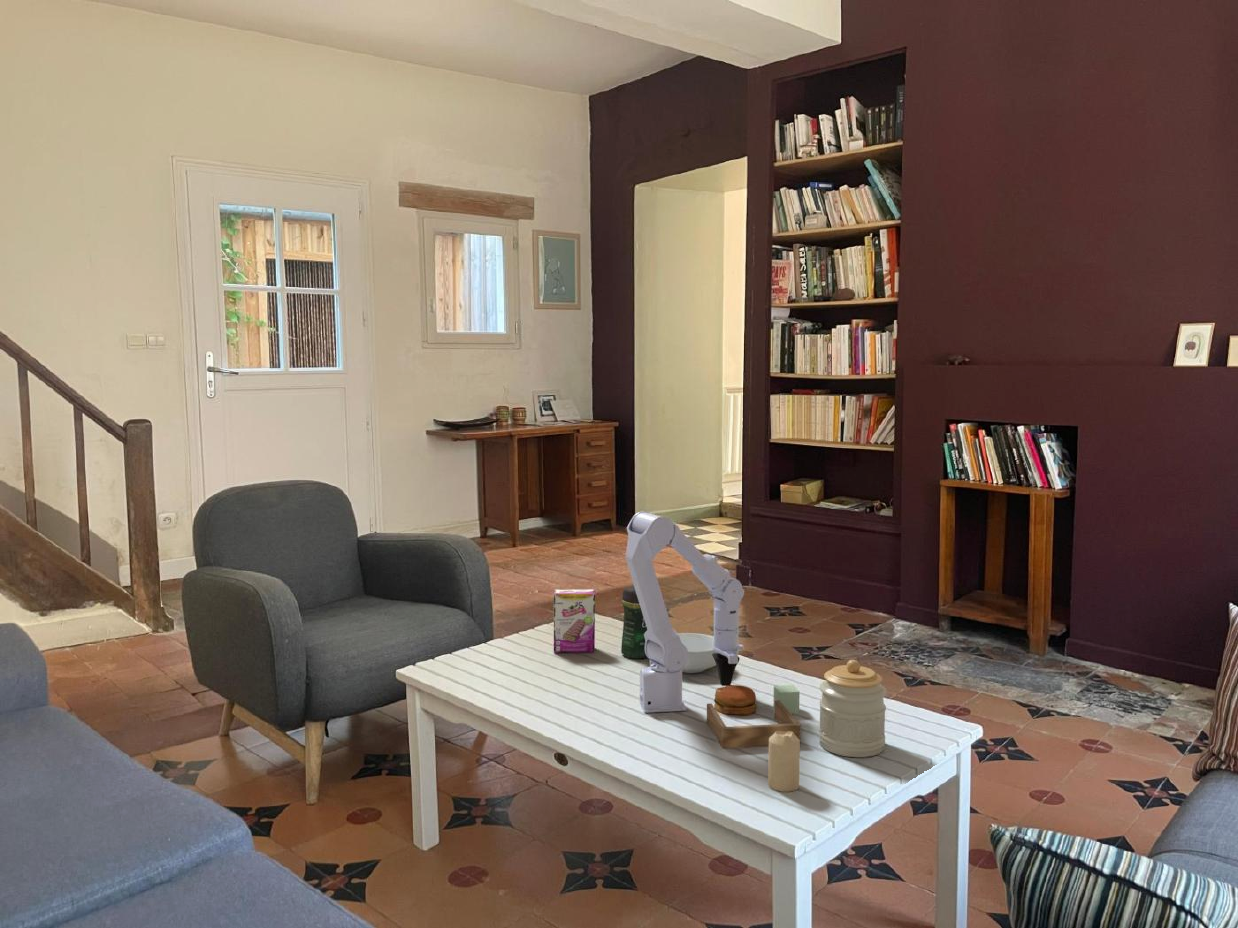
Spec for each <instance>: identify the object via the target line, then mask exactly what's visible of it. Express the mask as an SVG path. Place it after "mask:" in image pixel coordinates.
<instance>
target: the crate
mask: <svg viewBox="0 0 1238 928" xmlns="http://www.w3.org/2000/svg"><path fill="white" fill-rule="evenodd" d="M774 720H775V721H776V722H777V723H778V724H775V723H773V724H758V725H757V724H756V725H740V726H739V725H737V726H727V725H726V724H725V722H724V721H723V719H722V717H721V716H720V714H719V712H718V711H716V710H715V708H714V705H713V704H712V703H706V723H707V725H708V726H709V728H710V730H711V731H712V733H713V735H714V737H715V738H716V740H717V742H718V744H719V746H720V747H721V749H735V748H736V749H737V748H752V747H753V748H756V747H769V738H770V737H771V736H772V735H773V734H774V733H775V732H776V731H777V732H778V731H782V732H788V731H791V732H793V733H794V734H795V736H796V737H797V738H798V739H799V740H800V741H801V727H802V726H801V724H800V723H799V721H797V719H796V717H794V715H793V714H791V713H790V712H789V711H788V710H787V709H786V707H785V706H784V705H783V704H782V703H781V702H780V700H775V709H774Z"/></svg>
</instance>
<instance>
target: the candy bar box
mask: <svg viewBox="0 0 1238 928" xmlns="http://www.w3.org/2000/svg"><path fill="white" fill-rule="evenodd" d="M595 618H596V590H595V589H591V588H589V589H554V591H553V653H554V654H563V653H565V654H569V653H595V651H596V650H595V649H596V648H595V644H596V640H595V639H596V633H595V631H596V629H595V628H596V619H595Z"/></svg>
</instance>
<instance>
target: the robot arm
mask: <svg viewBox="0 0 1238 928" xmlns="http://www.w3.org/2000/svg"><path fill="white" fill-rule="evenodd" d="M626 531H627V532H626V533H627V535H628V537H627V544H626V551H625V560H626V561H625V562H626V566H627V567H628V572H629V575H630V577H631V582H632V585H633V587H634V588H635V591H636V594H637V597H638V601H639V604H640V607H641V610H642V614H643V617H644V620H645V623H646V627H647V631H646V632H645V633H644V637H645V654H646V656H647V657H646V658H648V659H649V666H648V667H643V668H640V671H639V703H640V705H641V708H642V710H643V712H644V713H645V714H647V713H666V712H686V711H687V710H688V709H687V706H686V705H685V703H684V702H683V672H682V670H683V667H684V666H685V664H686V663H687V660H688V650H687V648H686V647H685V646H684V645H683V644H682V642H681V640H680V637H679V635H678V634H677V633H678V632H677V631H676V630H675V628H674V627H673V626H672V624H671V621H670V617H669V613H668V610H667V607H666V603H665V601H664V597H663V594H662V590H661V587H660V584H659V580H658V577H657V573H656V570H655V568H654V564H653V560H654V559H655V557H656V556H657V555H658V554H659V553H660V552H661V551H662V550H663V549H664V548H665V547H666V546H667V545H668V546H670V547H672V548H673V549H674V550H675V551H676V552H677V553H678V554H680V556H682V557H683V559H685V560H686V561H687V562H688V563H690V565H691V572H692V574H693V575H694V576H695V577H696V578H697V579H698V580H699V581H700V582H701V583H702V584H703V585H704V586H705V587H706V588H707V589H708V590H707V591H708V593H709V595H710V596H712V597H713V637H714V644H713V650H714V651H716V652H718V653H713V654H712V656H713V658H714V660H715V662H716V665H715V666H716V669H717V673H718V678H719V683H720V686H721V687H725V686H728V685H732V681H733V675H734V674H735V673H734V672H735V669H736V667H737V665H738V664H739V662H740V659H741V658H740V657H739V651H742V650H744V644H739V623H740V622H739V620H740V619H739V618H740V617H739V616H740V615H739V614H740V610H739V609H740V608H741V606H740V605H741V600H742V599H743V597H744V596H745V589H743V586H742V583H741V581H740V580H739V579H736V578H734V577H731V572H730V571H729V570H728V569H725V568H724V567H723V566H722V565H721V564H720V563H719V562H718V561H719V558H718V557H717V556H716V555H710V554H707V553H706V554H703V553H702V552H701V551H700V550H699V549H698V548H697V547H696V546H695V545H694V543H693V542H692V541H691V540H690V539H689V538H688V537H687V535H686V534H685V533H684V532H683V531H682V530H681V528H680V527H679V525H677V524H676V523H674V522H673V521H672V520H671V518H669V517H667V516H663V515H662V516H660V515H657V514H653V513H650V512H649V511H639V512H637V513H635V514H634V515H633V516H632V518H631V519H630V521H629V523H628V525H627V527H626Z"/></svg>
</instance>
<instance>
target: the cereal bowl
mask: <svg viewBox="0 0 1238 928" xmlns="http://www.w3.org/2000/svg"><path fill="white" fill-rule="evenodd" d="M677 634H678V635H679V637H680V640H681V642H682V644H683V645H684V646H685V647H686V648H687V650H688V660H687V663H686V664H685V666H684V667H683V670H682V673H686V674H695V673H702V672H704V671H705V670H708V669H711V668H713V667H715V666H717V665H716V662H715V660H714V658H713V656H712V654H713V653H718V652H716V651H714V650H713V644H714V635H709V634H703V633H693V632H680V633H679V632H677Z"/></svg>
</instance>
